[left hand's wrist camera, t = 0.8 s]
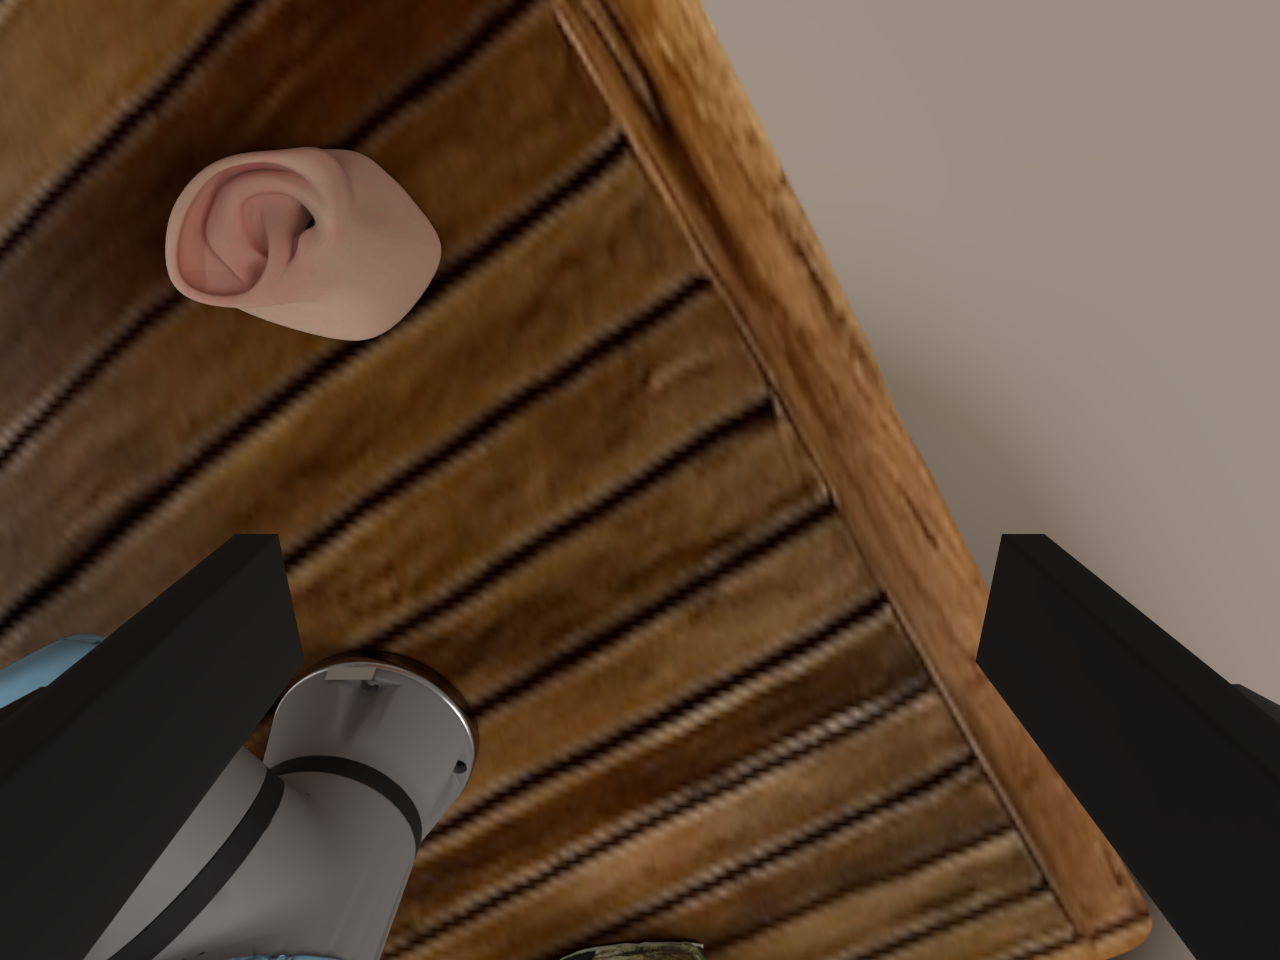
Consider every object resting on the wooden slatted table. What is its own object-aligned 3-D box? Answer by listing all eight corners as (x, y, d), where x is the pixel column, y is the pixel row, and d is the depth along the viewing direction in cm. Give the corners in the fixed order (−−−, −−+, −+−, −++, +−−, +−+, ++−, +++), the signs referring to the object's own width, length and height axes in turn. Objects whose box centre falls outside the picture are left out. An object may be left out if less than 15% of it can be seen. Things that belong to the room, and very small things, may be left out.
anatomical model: (441, 204, 36) (374, 397, 40) (461, 203, 40) (397, 380, 44) (187, 77, 34) (143, 293, 38) (232, 88, 38) (187, 284, 42)
